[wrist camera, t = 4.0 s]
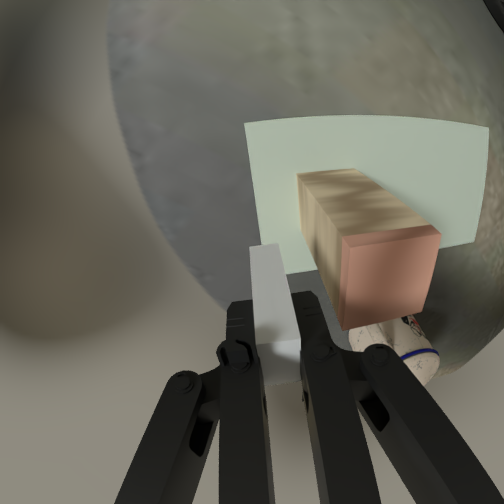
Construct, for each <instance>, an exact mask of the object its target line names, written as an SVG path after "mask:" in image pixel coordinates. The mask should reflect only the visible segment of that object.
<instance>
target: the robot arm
mask: <svg viewBox="0 0 504 504" xmlns="http://www.w3.org/2000/svg"><path fill="white" fill-rule="evenodd" d="M484 1H485V3H486V5H487V7H488V8H489V10H490V12H491V13H492V15H493V17H494V18H495V20H496V21H497V23H498V24H499V26H500V27H501V28H502V30H503V31H504V0H484ZM249 248H250V264H251V279H252V295H253V299H252V300H244V301H236V302H232V303H231V304H230V306H229V308H228V310H227V324H226V326H227V328H226V340H225V341H223V342H222V343H221V344H220V345H219V346H218V348H217V351H216V354H217V357H218V359H219V362H220V365H219V366H218V367H217V368H215V369H213V370H211V371H209V372H206V373H203V374H200V375H198V374H197V373H195V372H193V371H181V372H178V373H176V374H174V375H173V376H171V378H170V379H169V380H168V382H167V384H166V387H165V389H164V391H163V393H162V395H161V397H160V399H159V402H158V404H157V406H156V408H155V411H154V413H153V415H152V417H151V419H150V422H149V424H148V426H147V428H146V431H145V433H144V435H143V437H142V440H141V442H140V444H139V447H138V449H137V451H136V453H135V456H134V458H133V460H132V463H131V465H130V467H129V470H128V472H127V475H126V477H125V479H124V481H123V484H122V486H121V489H120V491H119V493H118V496H117V498H116V501H115V503H114V504H192V502H193V499H194V496H195V493H196V490H197V487H198V483H199V480H200V478H201V474H202V471H203V468H204V465H205V462H206V459H207V455H208V453H209V449H210V446H211V443H212V440H213V437H214V434H215V430H216V426H217V424H218V421H219V419H220V427H219V504H275V495H274V484H273V472H272V460H271V449H270V438H269V426H268V415H267V403H266V396H265V390H264V386H269V385H277V384H284V383H291V382H298V381H301V380H302V386H303V396H302V401H304V404H305V410H306V416H307V422H308V428H309V433H310V440H311V446H312V452H313V458H314V464H315V471H316V478H317V484H318V491H319V498H320V504H381V500H380V496H379V491H378V486H377V482H376V478H375V474H374V469H373V465H372V461H371V457H370V454H369V449H368V446H367V442H366V438H365V434H364V431H363V427H362V423H361V420H360V416H359V413H358V409H359V411H360V412H361V414H362V416H363V417H364V419H365V421H366V422H367V424H368V425H369V427H370V429H371V430H372V432H373V434H374V435H375V437H376V438H377V440H378V442H379V443H380V445H381V447H382V448H383V450H384V451H385V453H386V455H387V456H388V458H389V460H390V461H391V463H392V465H393V466H394V468H395V469H396V471H397V473H398V474H399V476H400V477H401V479H402V481H403V483H404V484H405V486H406V488H407V489H408V491H409V492H410V494H411V496H412V497H413V499H414V501H415V502H416V504H504V499H503V498H502V496H501V494H500V492H499V491H498V489H497V487H496V486H495V484H494V483H493V481H492V480H491V478H490V477H489V475H488V474H487V472H486V471H485V469H484V468H483V466H482V465H481V463H480V462H479V460H478V459H477V458H476V456H475V455H474V453H473V452H472V450H471V449H470V448H469V446H468V445H467V443H466V442H465V440H464V439H463V438H462V436H461V435H460V434H459V432H458V431H457V430H456V428H455V427H454V425H453V424H452V423H451V422H450V420H449V419H448V417H447V416H446V415H445V413H444V412H443V411H442V409H441V408H440V407H439V406H438V404H437V403H436V402H435V400H434V399H433V398H432V396H431V395H430V394H429V393H428V391H427V390H426V389H425V388H424V386H423V385H422V384H421V382H420V381H419V380H418V379H417V377H416V376H415V375H414V374H413V372H412V371H411V370H410V369H409V368H408V366H407V365H406V364H405V363H404V361H403V360H402V359H401V358H400V357H399V355H398V354H397V353H396V352H395V351H394V350H393V349H392V348H391V347H390V346H388V345H385V344H380V343H376V344H372V345H369V346H368V347H367V348H365V350H364V351H363V352H358V351H348V350H344V349H341V348H339V347H338V346H336V344H335V343H334V342H333V341H332V339H331V336H330V333H329V330H328V327H327V324H326V321H325V318H324V315H323V312H322V309H321V307H320V303H319V300H318V297H317V296H316V295H315V294H314V293H312V292H311V291H305V292H298V293H291V294H290V290H289V286H288V282H287V277H286V273H285V269H284V265H283V261H282V257H281V253H280V249H279V245H278V243H274V244H267V245H259V246H252V247H249ZM357 408H358V409H357Z"/></svg>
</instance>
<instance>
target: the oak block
mask: <svg viewBox="0 0 504 504" xmlns="http://www.w3.org/2000/svg"><path fill="white" fill-rule="evenodd" d="M296 178H297V190H298V203H299V217H300V230H301V232H302V234H303V236H304V239H305V241H306V243H307V245H308V248H309V250H310V252H311V255H312V257H313V259H314V262H315V264H316V266H317V269H318V271H319V273H320V276H321V278H322V281H323V283H324V286H325V288H326V290H327V293H328V295H329V298H330V300H331V303H332V305H333V308H334V310H335V313H336V315H337V318H338V321H339V323H340V326H341V328H342V331H344V330H349V329H354V328H359V327H363V326H368V325H372V324H376V323H380V322H385V321H389V320H393V319H397V318H400V317H404V316H408V315H412V314H415V313H419V312H422V309H423V306H424V303H425V299H426V296H427V293H428V289H429V286H430V282H431V278H432V275H433V271H434V267H435V263H436V258H437V254H438V250H439V245H440V240H441V235H442V233H440V232H439V231H438V230H437V229H436V228H435V227H433V226H432V225H431V224H430V223H428V222H427V221H426V220H425V219H424V218H422V217H421V216H420V215H419V214H417V213H416V212H415V211H413V210H412V209H411V208H410V207H408V206H407V205H406V204H404V203H403V202H402V201H400V200H399V199H398V198H396V197H395V196H394V195H392V194H391V193H390V192H388V191H387V190H385V189H384V188H383V187H381V186H380V185H378V184H377V183H375V182H374V181H372V180H371V179H370V178H368V177H367V176H365V175H364V174H362V173H361V172H359V171H357V170H356V169H354V168H351V169H338V170H326V171H315V172H305V173H296Z"/></svg>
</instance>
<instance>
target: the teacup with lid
mask: <svg viewBox="0 0 504 504" xmlns="http://www.w3.org/2000/svg"><path fill="white" fill-rule="evenodd" d="M349 341H350V344H351V347H352V349H353V351H358V352H363V351H364V350H365V348H367V347H368V346H369V345H372V344H376V343H380V344H385V345H388V346H390V347H391V348H392V349H393V350H394V351H395V352H396V353H397V354H398V355H399V357H400V358H401V359H402V360H403V361H404V363H405V364H406V365H407V366H408V368H409V369H410V370H411V371H412V372H413V374H414V375H415V376H416V377H417V379H418V380H419V381H420V382H421V384H422V385H423V386H424V385H425V384H426V383H427V382H428V381H429V380H430V379H431V378H432V377H433V375H434V374H435V373H436V371H437V369H438V367H439V361H440V359H439V354H438V352H437V351H436V350H434V349H433V348H432V346H431V344H430V343H429V341H428V339H427V338H426V336H425V334H424V333H423V331H422V329H421V328H420V326H419V324H418V323H417V321H416V320H415V318H414V316H413V315H408V316H404V317H400V318H397V319H393V320H389V321H385V322H380V323H376V324H372V325H368V326H363V327H359V328H354V329H350V331H349Z"/></svg>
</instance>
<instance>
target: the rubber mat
mask: <svg viewBox="0 0 504 504" xmlns="http://www.w3.org/2000/svg"><path fill="white" fill-rule="evenodd" d="M244 125H245V132H246V139H247V145H248V152H249V159H250V166H251V173H252V180H253V187H254V194H255V201H256V208H257V215H258V222H259V229H260V236H261V244H262V245H267V244H274V243H278V245H279V249H280V253H281V257H282V261H283V265H284V269H285V273H286V274H290V273H297V272H304V271H310V270H317V266H316V264H315V262H314V259H313V257H312V255H311V252H310V250H309V248H308V245H307V243H306V241H305V239H304V236H303V234H302V232H301V230H300V217H299V203H298V190H297V178H296V173H305V172H315V171H326V170H338V169H351V168H354V169H356V170H357V171H359V172H361V173H362V174H364V175H365V176H367V177H368V178H370V179H371V180H372V181H374V182H375V183H377V184H378V185H380V186H381V187H383V188H384V189H385V190H387V191H388V192H390V193H391V194H392V195H394V196H395V197H396V198H398V199H399V200H400V201H402V202H403V203H404V204H406V205H407V206H408V207H410V208H411V209H412V210H413V211H415V212H416V213H417V214H419V215H420V216H421V217H422V218H424V219H425V220H426V221H427V222H428V223H430V224H431V225H432V226H433V227H435V228H436V229H437V230H438V231H439V232H440V233H442V235H441V240H440V245H439V249H440V248H445V247H450V246H455V245H460V244H465V243H470V242H474V239H475V235H476V231H477V226H478V222H479V217H480V211H481V206H482V200H483V193H484V186H485V179H486V169H487V158H488V141H489V128H487V127H483V126H478V125H472V124H466V123H460V122H453V121H445V120H437V119H428V118H417V117H404V116H383V115H330V116H309V117H295V118H283V119H273V120H264V121H256V122H249V123H244Z"/></svg>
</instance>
